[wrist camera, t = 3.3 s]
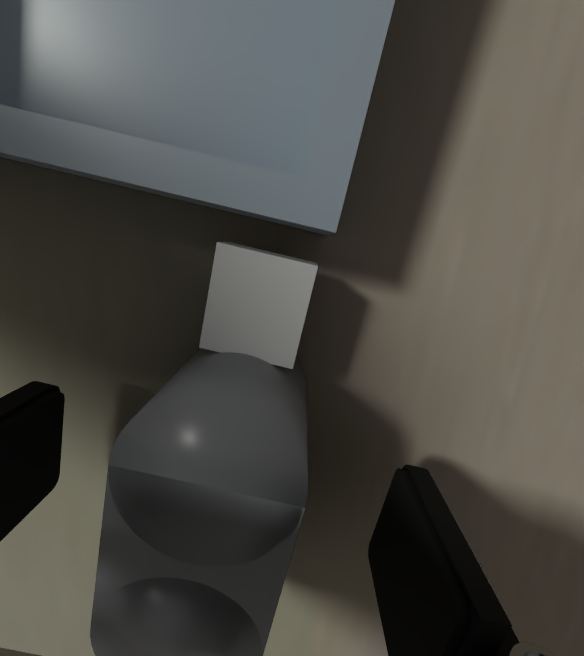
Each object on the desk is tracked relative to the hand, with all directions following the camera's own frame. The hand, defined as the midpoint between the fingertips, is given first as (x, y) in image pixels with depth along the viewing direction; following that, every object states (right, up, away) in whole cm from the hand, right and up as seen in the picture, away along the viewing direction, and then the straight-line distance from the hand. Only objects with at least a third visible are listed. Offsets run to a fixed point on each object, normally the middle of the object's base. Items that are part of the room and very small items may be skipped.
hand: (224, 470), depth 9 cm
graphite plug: (0, +1, +1) cm, 2 cm away
